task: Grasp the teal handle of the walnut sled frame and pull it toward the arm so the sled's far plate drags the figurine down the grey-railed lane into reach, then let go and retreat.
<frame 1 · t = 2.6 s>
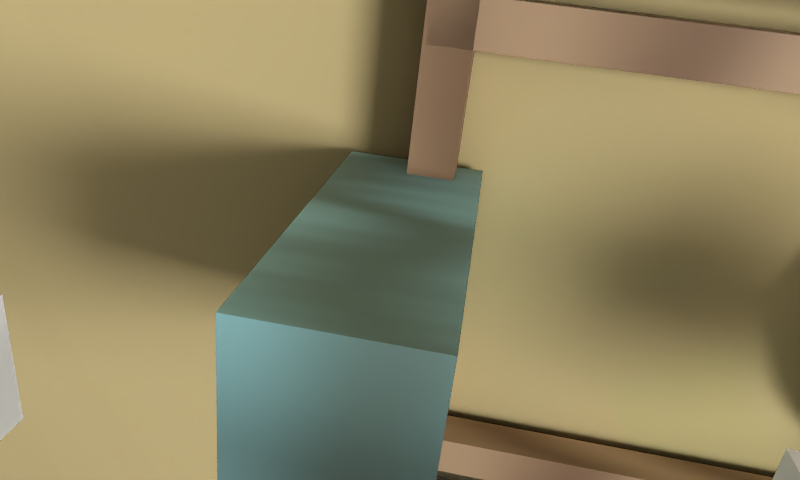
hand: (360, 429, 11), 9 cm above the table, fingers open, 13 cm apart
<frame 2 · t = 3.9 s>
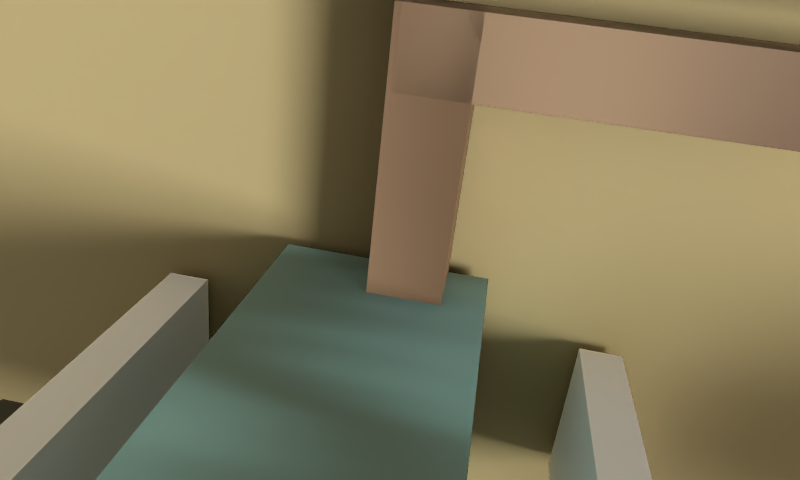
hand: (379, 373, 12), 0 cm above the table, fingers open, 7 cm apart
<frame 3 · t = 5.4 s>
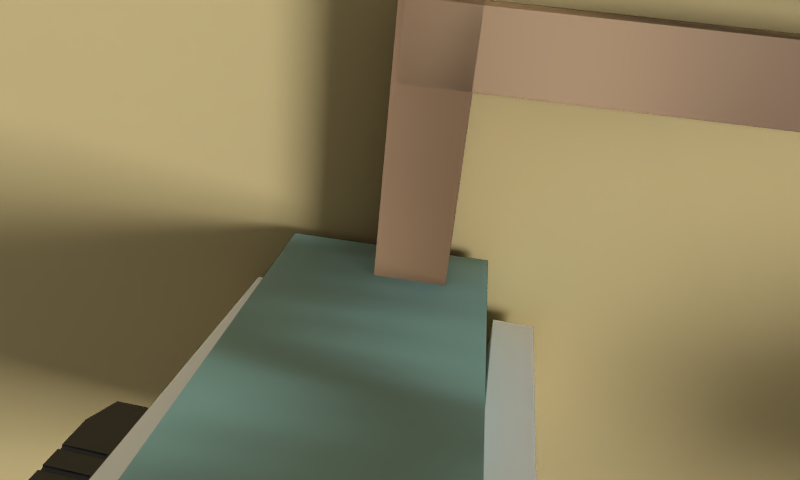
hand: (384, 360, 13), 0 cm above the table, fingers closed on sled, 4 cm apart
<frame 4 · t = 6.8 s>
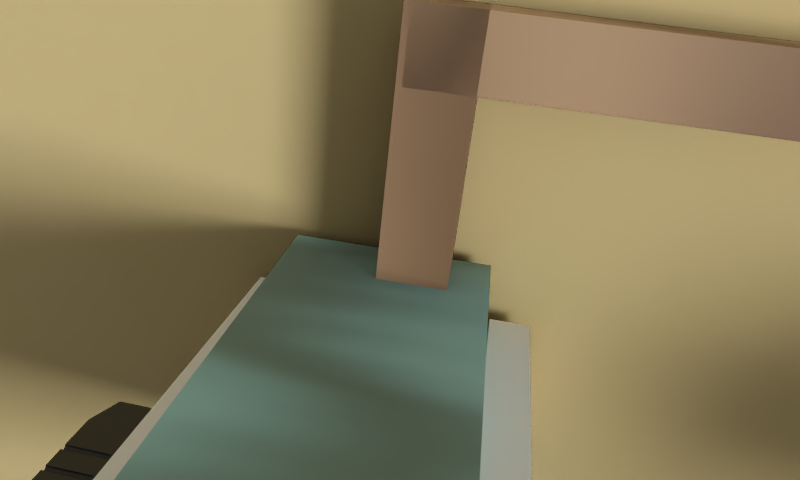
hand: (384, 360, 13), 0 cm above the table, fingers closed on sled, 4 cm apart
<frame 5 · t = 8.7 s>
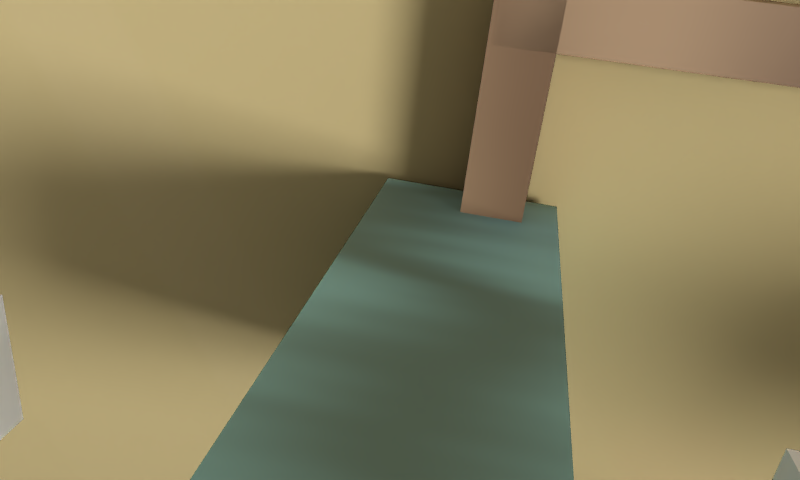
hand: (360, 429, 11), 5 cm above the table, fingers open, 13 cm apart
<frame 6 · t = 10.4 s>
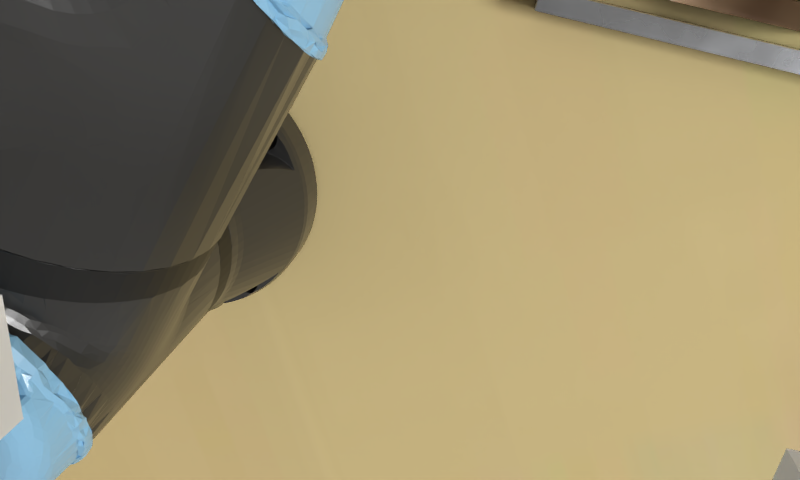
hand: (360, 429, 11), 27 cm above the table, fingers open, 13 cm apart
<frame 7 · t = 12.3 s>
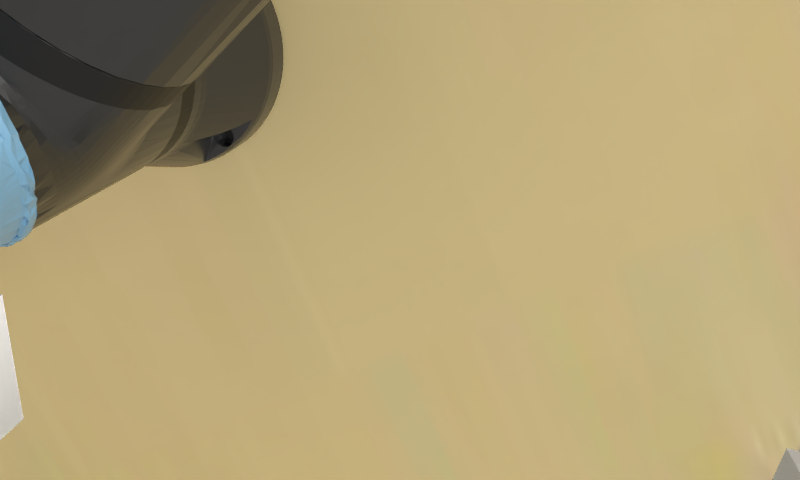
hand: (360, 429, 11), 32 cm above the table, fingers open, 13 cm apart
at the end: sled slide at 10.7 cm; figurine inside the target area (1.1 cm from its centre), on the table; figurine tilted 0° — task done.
